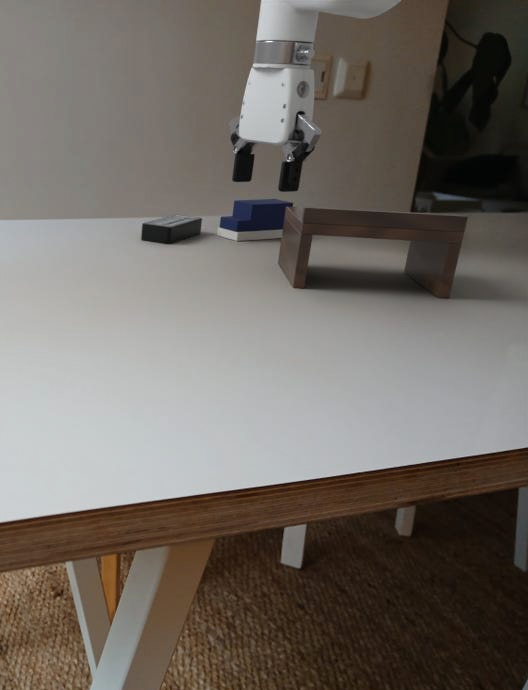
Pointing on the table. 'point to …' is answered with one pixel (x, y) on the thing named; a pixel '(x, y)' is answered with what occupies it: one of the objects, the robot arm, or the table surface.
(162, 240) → the multiport hub
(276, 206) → the trainer
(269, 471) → the table surface
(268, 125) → the robot arm
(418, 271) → the shelf
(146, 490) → the table surface
